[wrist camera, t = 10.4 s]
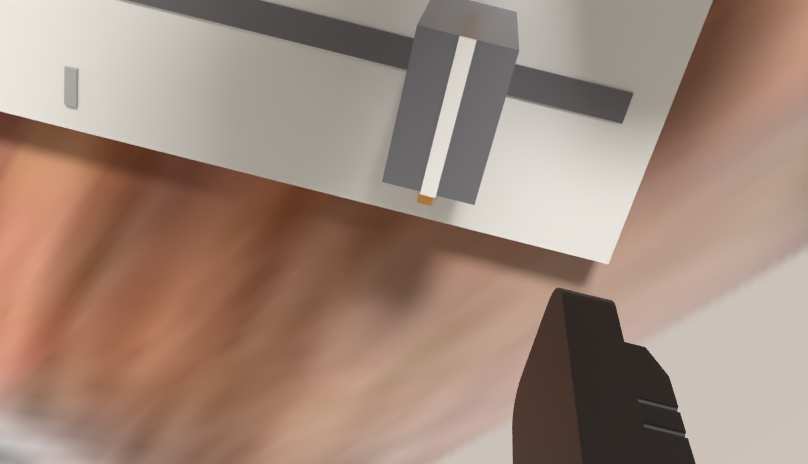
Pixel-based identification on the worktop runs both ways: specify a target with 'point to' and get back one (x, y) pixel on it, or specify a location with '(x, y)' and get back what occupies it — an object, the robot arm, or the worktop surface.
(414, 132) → the fader cap
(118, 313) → the worktop surface
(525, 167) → the console board
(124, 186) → the worktop surface
